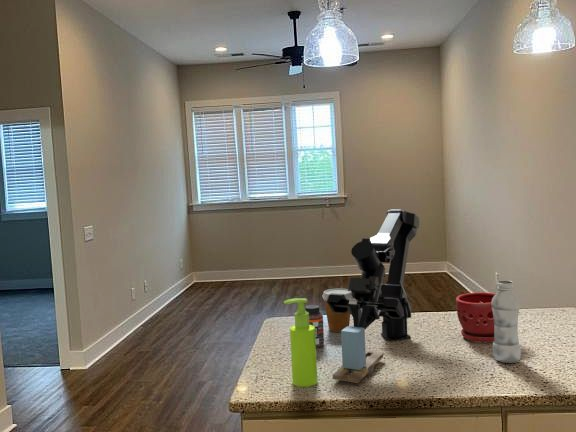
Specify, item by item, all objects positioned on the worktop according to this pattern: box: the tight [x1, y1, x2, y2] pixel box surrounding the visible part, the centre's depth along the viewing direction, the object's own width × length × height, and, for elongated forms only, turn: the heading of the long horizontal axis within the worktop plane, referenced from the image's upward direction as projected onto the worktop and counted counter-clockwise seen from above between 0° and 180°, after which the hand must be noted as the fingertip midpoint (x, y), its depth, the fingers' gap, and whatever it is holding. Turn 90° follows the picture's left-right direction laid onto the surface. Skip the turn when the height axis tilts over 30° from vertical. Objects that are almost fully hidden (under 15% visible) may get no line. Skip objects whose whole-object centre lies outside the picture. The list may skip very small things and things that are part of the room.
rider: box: [340, 325, 367, 374], centre depth 125 cm, size 4×4×10 cm
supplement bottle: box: [305, 304, 325, 349], centre depth 149 cm, size 6×6×11 cm
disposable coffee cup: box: [321, 288, 353, 333], centre depth 163 cm, size 10×10×12 cm
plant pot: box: [455, 292, 496, 344], centre depth 147 cm, size 13×13×12 cm
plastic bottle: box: [491, 280, 522, 364], centre depth 129 cm, size 6×7×20 cm
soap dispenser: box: [283, 297, 318, 388], centre depth 122 cm, size 6×7×20 cm
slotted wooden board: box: [332, 350, 384, 384], centre depth 128 cm, size 18×6×2 cm, turn 151°
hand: (356, 335), depth 126 cm, fingers closed, pressing on rider
